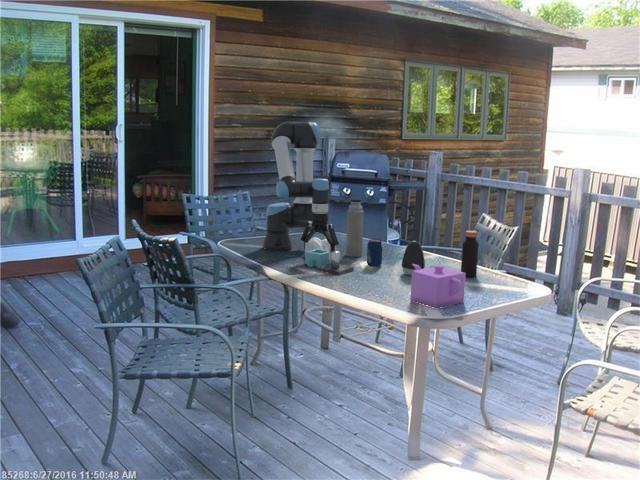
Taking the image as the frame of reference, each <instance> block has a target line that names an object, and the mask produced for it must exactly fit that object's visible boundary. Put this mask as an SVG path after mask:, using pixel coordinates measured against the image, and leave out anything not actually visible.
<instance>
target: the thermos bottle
mask: <svg viewBox="0 0 640 480" xmlns="http://www.w3.org/2000/svg"><path fill="white" fill-rule="evenodd" d="M361 201H362V199H357V198H353V199H351V200H350V205H349V206H348V210H347V213H346V215H347V217H346V219H347V220H346V239H345V240H346V241H345V242H346V243H345V244H346V245H345V246H346V247H345V256H347V257H352V258H357V257H358V258H359V257H362V256H363V242H364V241H363V237H364V235H363V234H364V233H363V232H364V210H363V206H362V205H361V204H362V203H361Z"/></svg>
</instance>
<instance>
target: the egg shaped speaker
mask: <svg viewBox="0 0 640 480" xmlns="http://www.w3.org/2000/svg"><path fill="white" fill-rule="evenodd" d="M412 264H416V265H419V266H420V268H421V269H426V268H425V267H426V259H425V254H424V250H423V247H422V245H421V243H420V242H419V241H418V240H411V241H410V242H409V243H408V244H407V245H406V247H405V250H404V253H403V256H402V260H401V267H402V271H403V273H404V274H405V275H407V276H411V277H412V271H415V270H416V269H415V267H414V266H413V265H412Z"/></svg>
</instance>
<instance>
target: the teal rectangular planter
mask: <svg viewBox="0 0 640 480" xmlns="http://www.w3.org/2000/svg"><path fill="white" fill-rule="evenodd" d="M304 258H305V259H304V262H305V263H304V264H305V265H306V264H307V267H308V266H310V268H313V266H314V267H316V266H317V267H320V266H323V265H327V264H330V263H331V260H329V250H321V249H314V250H310V251H306V252H304ZM317 267H316V268H317Z"/></svg>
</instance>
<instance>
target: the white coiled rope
mask: <svg viewBox="0 0 640 480" xmlns="http://www.w3.org/2000/svg"><path fill="white" fill-rule="evenodd" d="M309 242H310V250H314V249H321V250H327V251H329V246H330V244H329V242H328V241H327V239H326V238H323V239H322V240H321V239H320V238H318V237H315V236H314V237H312V238H311V239H310V240H309Z"/></svg>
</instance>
